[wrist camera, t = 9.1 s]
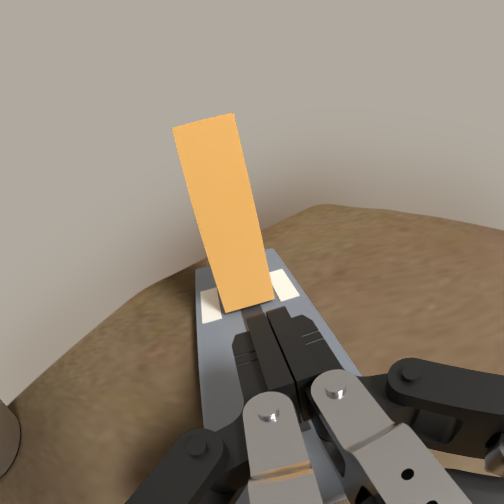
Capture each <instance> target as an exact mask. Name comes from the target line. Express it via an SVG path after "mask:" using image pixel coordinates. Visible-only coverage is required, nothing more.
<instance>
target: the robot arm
mask: <svg viewBox="0 0 504 504" xmlns="http://www.w3.org/2000/svg"><path fill="white" fill-rule="evenodd" d="M245 319H246V322H247V325H248V329H249V331H247V332H243V333H240V334H236V335H235V337H234V340H233V343H232V350H233V355H234V359H235V364H236V368H237V373H238V377H239V382H240V386H241V390H242V395H243V399H244V406H243V410H242V412H241V414H240V415H239V416H238V418H237V419H236V420H235V421H233V422H232V423H230V424H229V425H227V426H225V427H223V428H221V429H220V430H218V431H216V432H214V431H212V430H209V429H205V428H197V429H192V430H190V431H187V432H185V433H184V434H183V435H181V436H180V437H179V438H178V439H177V441H176V442H175V443H174V445H173V446H172V447H171V448H170V450H169V451H168V452H167V453H166V455H165V456H164V457H163V458H162V460H161V461H160V462H159V463H158V465H157V466H156V467H155V468H154V469H153V471H152V472H151V473H150V474H149V476H148V477H147V478H146V479H145V480H144V482H143V483H142V484H141V485H140V486H139V487H138V489H137V490H136V491H135V492H134V493H133V494H132V496H131V497H130V498H129V499H128V500H127V501H126V503H125V504H235V503H236V502H237V500H238V498H239V497H240V495H241V494H242V492H243V491H244V489H245V487H246V485H247V484H248V492H249V499H250V504H323V501H322V498H321V495H320V491H319V488H318V484H317V481H316V478H315V474H314V471H313V468H312V466H311V464H310V461H309V457H308V454H307V451H306V447H305V444H304V440H303V437H302V433H301V428H300V423H302V421H301V417H302V419H303V422H305V421H308V420H311V421H312V423H313V426H314V428H315V433H316V438H317V440H318V442H319V444H320V445H321V447H322V449H323V451H324V453H325V454H326V456H327V458H328V460H329V461H330V463H331V465H332V467H333V469H334V470H335V472H336V474H337V476H338V477H339V479H340V482H341V484H342V488H343V490H344V493H345V495H346V497H347V498H348V500H349V502H350V504H504V376H503V375H497V374H491V373H485V372H480V371H474V370H469V369H464V368H459V367H454V366H449V365H444V364H440V363H435V362H430V361H426V360H422V359H417V358H405V359H401V360H399V361H397V362H396V363H394V364H393V365H392V366H391V368H390V369H389V372H388V373H387V374H381V375H375V376H368V377H361V376H356V375H354V374H353V373H351V372H349V371H346V370H345V369H344V368H343V367H342V366H341V364H340V362H339V361H338V359H337V358H336V356H335V355H334V353H333V352H332V350H331V348H330V347H329V345H328V344H327V342H326V341H325V339H324V338H323V336H322V334H321V333H320V331H319V330H318V328H317V327H316V325H315V324H314V322H313V320H311V319H309V318H307V317H306V316H304V315H299V316H295V317H292V318H291V316H290V314H289V312H288V311H287V309H286V307H285V306H282V307H279V308H276V309H273V310H269V311H266V315H265V313H264V312H263V313H259V314H256V315H253V316H249V317H246V318H245ZM300 414H301V416H300ZM19 441H20V426H19V422H18V420H17V417H16V416H15V415H14V414H13V413H12V412H11V411H10V410H9V408H8V407H7V406H6V405H5V404H4V403H3V402H2V401H1V400H0V477H1V476H2V475H3V474H4V473H5V472H6V471H7V470H8V468H9V467H10V465H11V464H12V462H13V460H14V458H15V456H16V453H17V450H18V446H19ZM428 448H429V449H433V450H437V451H442V452H446V453H451V454H456V455H462V456H467V457H473V458H480V459H485V470H486V471H487V472H489V473H493V474H496V475H499V476H501V477H494V476H488V475H482V474H476V473H471V472H466V471H461V470H456V469H447V468H443V467H442V466H441V464H440V463H439V462H438V461H437V459H436V458H435V457H434V456H433V454H432V453H431V452H430V451H429V450H428Z"/></svg>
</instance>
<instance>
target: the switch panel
mask: <svg viewBox="0 0 504 504" xmlns="http://www.w3.org/2000/svg"><path fill="white" fill-rule="evenodd" d="M265 254H266V259H267V264H268V268H269V273H270V278H271V282H272V287H273V292H274V297H275V299H273V300H269V301H266V302H263V303H259V304H256V305H252V306H249V307H245V308H242V309H238V310H235V311H231V312H228V313H225V310H224V307H223V304H222V301H221V298H220V294H219V291H218V288H217V285H216V282H215V279H214V276H213V273H212V269H211V266H210V265H209V266H205V267H202V268H198V269H195V288H196V322H197V344H198V362H199V377H200V390H201V403H202V414H203V424H204V428H205V429H209V430H212V431H214V432H216V431H218V430H220V429H221V428H223V427H225V426H227V425H229V424H230V423H232V422H233V421H235V420H236V419H237V418H238V416H239V415H240V414H241V412H242V410H243V406H244V399H243V395H242V390H241V386H240V382H239V377H238V373H237V368H236V364H235V359H234V355H233V350H232V343H233V340H234V337H235V335H236V334H240V333H243V332H247V331H249V329H248V325H247V322H246V319H245V318H246V317H249V316H253V315H256V314H259V313H263V312H264V313H265V315H266V311H269V310H273V309H276V308H279V307H282V306H285V307H286V309H287V311H288V312H289V314H290V316H291V318H292V317H295V316H299V315H304V316H306V317H307V318H309V319H311V320H313V322H314V324H315V325H316V327H317V328H318V330H319V331H320V333H321V334H322V336H323V338H324V339H325V341H326V342H327V344H328V345H329V347H330V348H331V350H332V352H333V353H334V355H335V356H336V358H337V359H338V361H339V362H340V364H341V366H342V367H343V368H344V369H345V370H346V371H349V372H351V373H353V374H354V375H356V376H361V374H360V373H359V371H358V370H357V368H356V367H355V365H354V364H353V362H352V361H351V359H350V358H349V356H348V355H347V353H346V352H345V350H344V349H343V347H342V346H341V345H340V343H339V342H338V340H337V339H336V337H335V336H334V334H333V333H332V331H331V330H330V329H329V327H328V326H327V324H326V323H325V321H324V320H323V318H322V317H321V315H320V314H319V313H318V311H317V310H316V308H315V307H314V305H313V304H312V303H311V301H310V300H309V298H308V297H307V295H306V294H305V292H304V291H303V290H302V288H301V287H300V285H299V284H298V283H297V281H296V280H295V278H294V277H293V275H292V274H291V273H290V271H289V270H288V268H287V267H286V266H285V264H284V263H283V261H282V260H281V259H280V257H279V256H278V254H277V253H276V251H275V250H274V249H273V248H270V249H266V250H265ZM361 377H362V376H361ZM300 416H301V414H300ZM301 421H302V423H300V428H301V433H302V437H303V440H304V444H305V447H306V451H307V454H308V457H309V461H310V464H311V466H312V468H313V471H314V474H315V478H316V481H317V484H318V488H319V491H320V495H321V498H322V501H323V504H334V503H337V502H340V501H342V500H345V499H347V497H346V495H345V493H344V490H343V488H342V484H341V482H340V479H339V477H338V476H337V474H336V472H335V470H334V469H333V467H332V465H331V463H330V461H329V460H328V458H327V456H326V454H325V453H324V451H323V449H322V447H321V445H320V444H319V442H318V440H317V438H316V433H315V428H314V426H313V423H312V421H311V420H308V421H305V422H303V419H302V417H301ZM235 504H250V499H249V492H248V484H247V485H246V487H245V489H244V491H243V492H242V494H241V495H240V497H239V498H238V500H237V502H236V503H235Z"/></svg>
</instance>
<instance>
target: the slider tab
mask: <svg viewBox="0 0 504 504" xmlns="http://www.w3.org/2000/svg"><path fill="white" fill-rule="evenodd" d="M172 130H173V134H174V138H175V142H176V146H177V150H178V154H179V158H180V161H181V165H182V169H183V173H184V176H185V180H186V184H187V188H188V191H189V195H190V198H191V202H192V205H193V209H194V212H195V216H196V219H197V222H198V226H199V230H200V233H201V237H202V240H203V243H204V246H205V250H206V253H207V256H208V260H209V263H210V266H211V269H212V273H213V276H214V279H215V282H216V285H217V288H218V291H219V294H220V298H221V301H222V304H223V307H224V310H225V313H228V312H231V311H235V310H238V309H242V308H245V307H249V306H252V305H256V304H259V303H263V302H266V301H269V300H273V299H275V297H274V292H273V287H272V282H271V278H270V273H269V268H268V264H267V259H266V254H265V250H264V245H263V241H262V236H261V231H260V227H259V222H258V218H257V213H256V209H255V204H254V200H253V195H252V191H251V187H250V182H249V177H248V173H247V169H246V164H245V160H244V155H243V151H242V147H241V142H240V138H239V134H238V129H237V125H236V121H235V117H234V113H229V114H225V115H221V116H216V117H212V118H208V119H204V120H200V121H196V122H192V123H189V124H185V125H181V126H178V127H174V128H172Z"/></svg>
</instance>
